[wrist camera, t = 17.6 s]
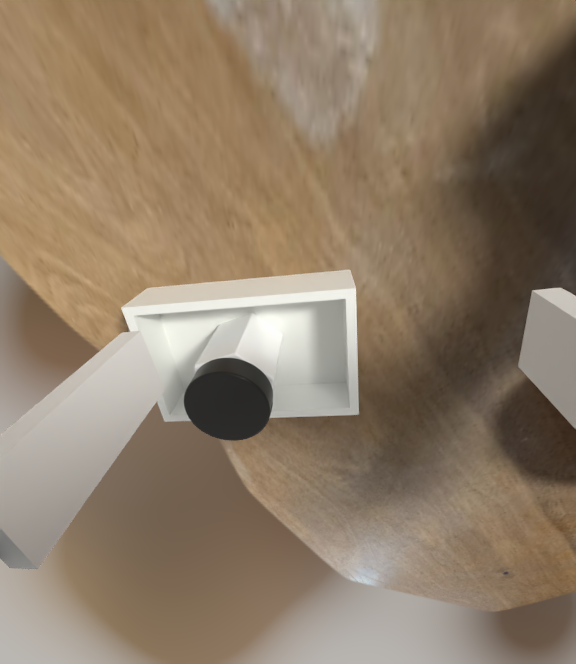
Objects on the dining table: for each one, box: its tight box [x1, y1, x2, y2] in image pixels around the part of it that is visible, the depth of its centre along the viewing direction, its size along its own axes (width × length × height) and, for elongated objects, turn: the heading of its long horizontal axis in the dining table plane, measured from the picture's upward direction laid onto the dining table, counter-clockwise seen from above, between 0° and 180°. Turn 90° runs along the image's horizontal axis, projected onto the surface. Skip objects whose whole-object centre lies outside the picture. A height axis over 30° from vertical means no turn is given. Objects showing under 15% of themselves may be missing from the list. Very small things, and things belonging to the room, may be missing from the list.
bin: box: [121, 270, 359, 422], centre depth 39 cm, size 24×16×6 cm, turn 97°
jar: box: [184, 313, 283, 440], centre depth 35 cm, size 9×8×12 cm
